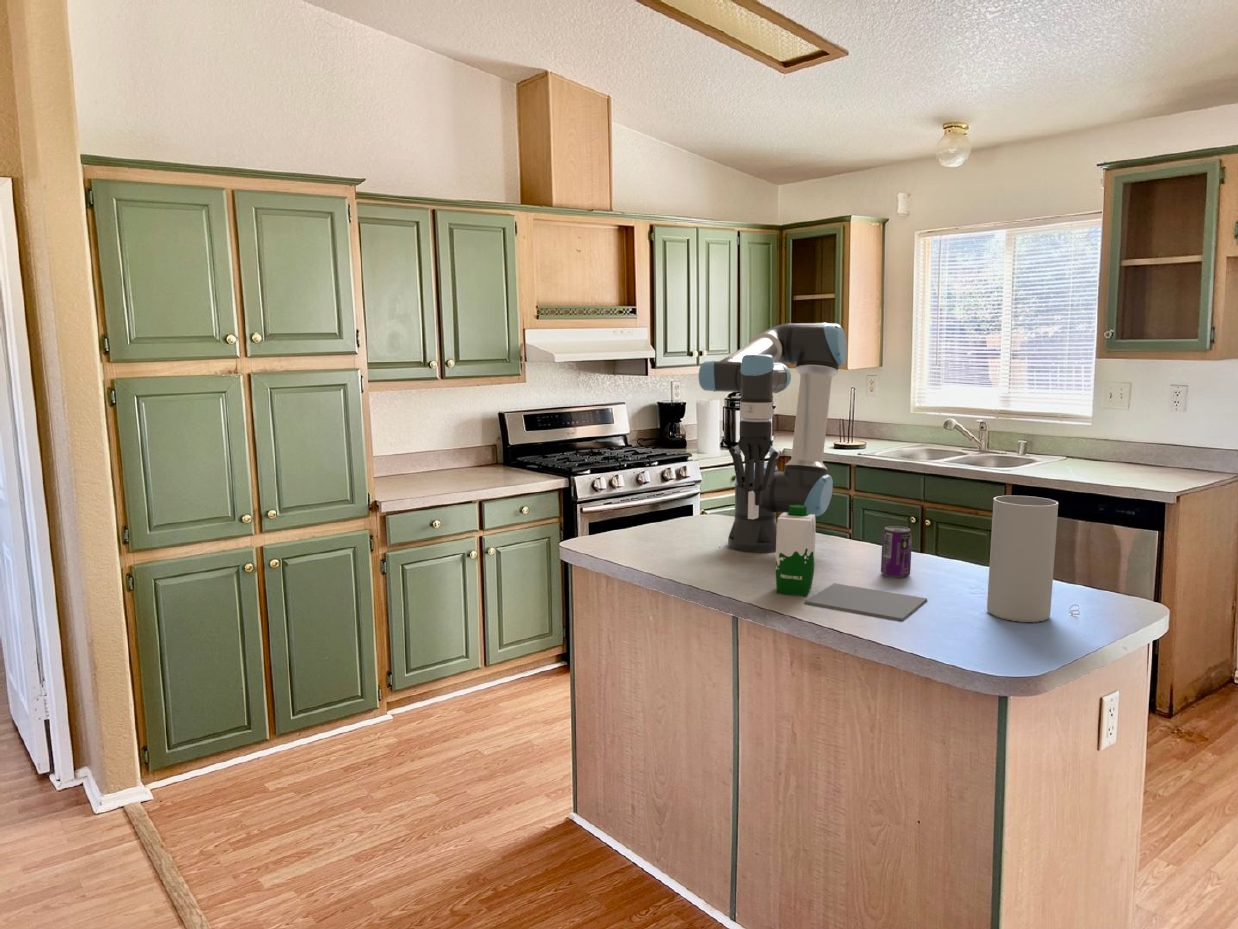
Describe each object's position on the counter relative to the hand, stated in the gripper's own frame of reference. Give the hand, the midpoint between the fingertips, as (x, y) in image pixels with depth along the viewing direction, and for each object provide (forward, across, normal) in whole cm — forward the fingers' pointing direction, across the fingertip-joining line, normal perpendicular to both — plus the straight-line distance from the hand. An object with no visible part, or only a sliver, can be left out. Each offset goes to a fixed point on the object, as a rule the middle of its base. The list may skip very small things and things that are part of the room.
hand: (753, 518), depth 214 cm
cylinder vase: (+16, +58, +11) cm, 61 cm away
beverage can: (+16, +26, +28) cm, 42 cm away
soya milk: (+17, +11, 0) cm, 20 cm away
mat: (+16, +28, +1) cm, 32 cm away
